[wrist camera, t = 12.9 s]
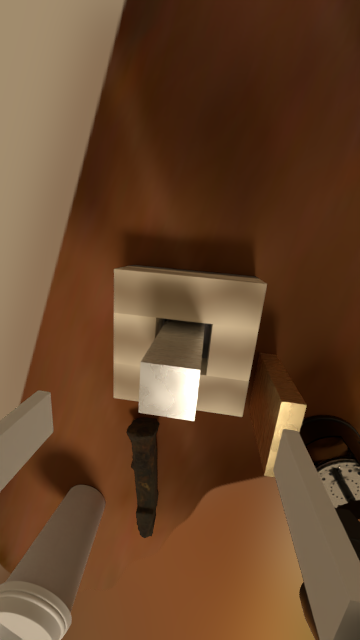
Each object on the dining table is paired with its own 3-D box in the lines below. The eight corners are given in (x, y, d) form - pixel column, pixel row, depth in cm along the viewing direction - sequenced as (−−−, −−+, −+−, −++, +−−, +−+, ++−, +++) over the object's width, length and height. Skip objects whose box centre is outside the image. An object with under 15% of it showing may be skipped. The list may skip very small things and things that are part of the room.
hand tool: (133, 413, 35) (121, 437, 31) (160, 416, 34) (153, 441, 30) (136, 510, 40) (126, 542, 36) (160, 514, 40) (153, 547, 36)
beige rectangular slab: (264, 410, 32) (286, 479, 22) (248, 408, 32) (264, 475, 23) (276, 354, 30) (306, 405, 20) (259, 352, 30) (281, 401, 20)
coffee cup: (49, 483, 41) (-39, 610, 26) (98, 472, 39) (31, 603, 24) (76, 524, 43) (8, 663, 28) (123, 516, 41) (76, 661, 26)
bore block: (236, 386, 31) (242, 417, 26) (130, 371, 33) (113, 397, 27) (255, 276, 27) (267, 284, 22) (133, 264, 29) (113, 269, 23)
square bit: (201, 351, 28) (194, 421, 17) (167, 347, 29) (138, 412, 17) (205, 318, 27) (200, 369, 16) (170, 314, 28) (140, 361, 16)
